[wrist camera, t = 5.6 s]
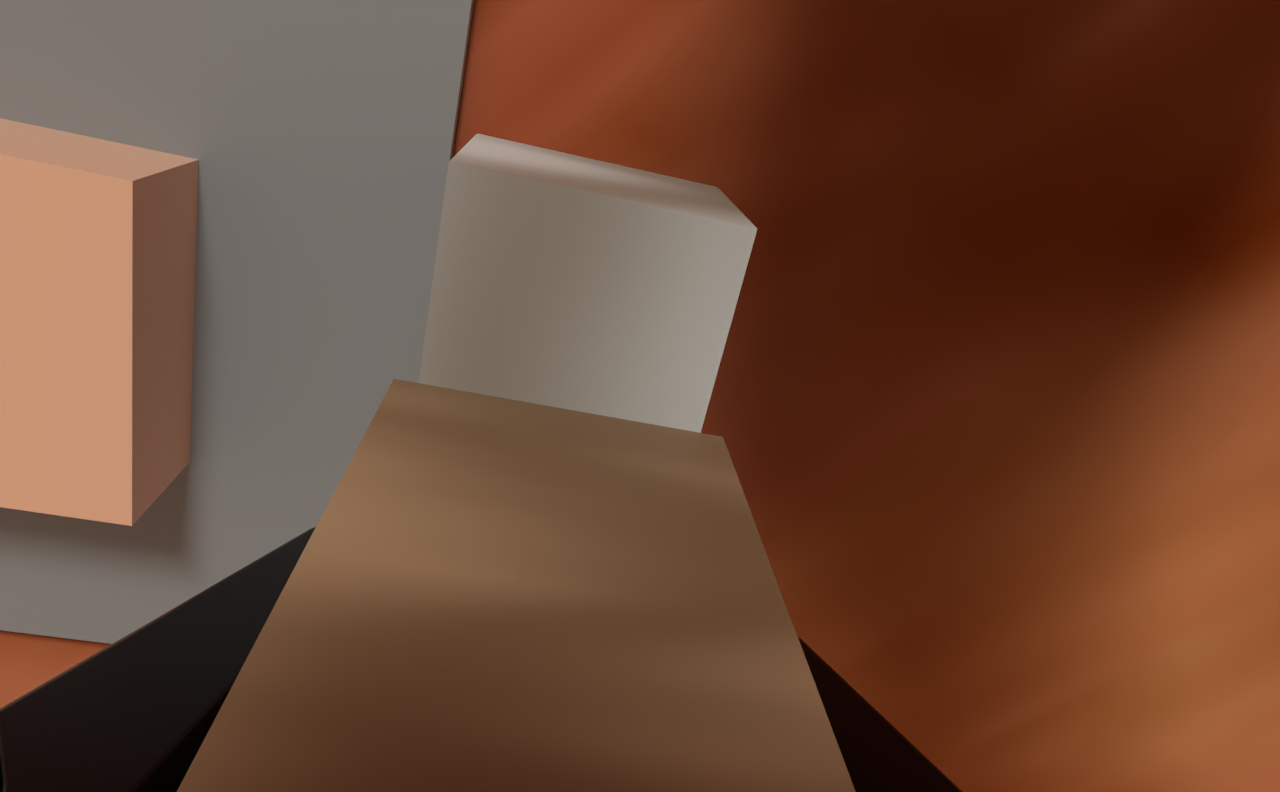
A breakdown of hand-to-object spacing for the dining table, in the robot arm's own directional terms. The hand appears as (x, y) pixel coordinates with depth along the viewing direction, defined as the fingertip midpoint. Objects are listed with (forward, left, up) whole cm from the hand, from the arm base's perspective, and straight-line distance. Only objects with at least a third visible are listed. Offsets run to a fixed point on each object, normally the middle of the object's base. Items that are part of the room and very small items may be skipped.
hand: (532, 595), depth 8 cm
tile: (+8, 0, -6) cm, 10 cm away
